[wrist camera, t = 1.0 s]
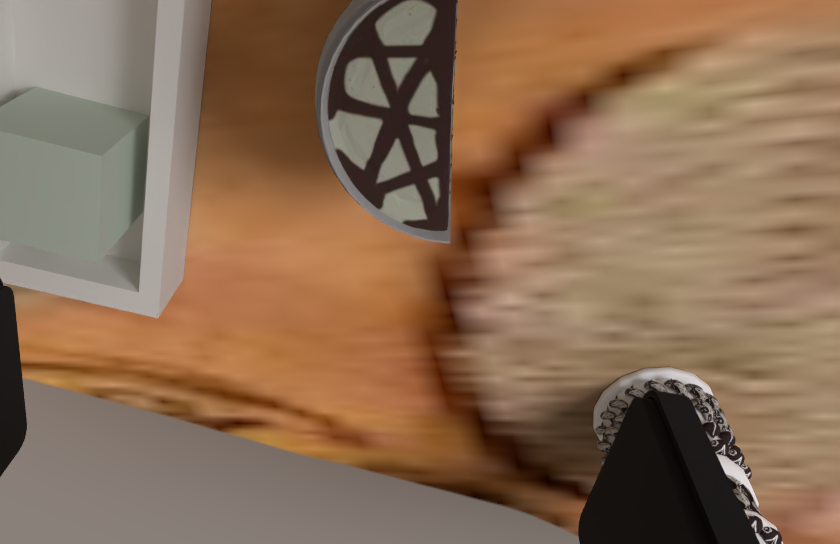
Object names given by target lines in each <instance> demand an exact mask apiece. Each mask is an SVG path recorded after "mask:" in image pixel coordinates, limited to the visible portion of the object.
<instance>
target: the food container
mask: <svg viewBox="0 0 840 544" xmlns="http://www.w3.org/2000/svg"><path fill="white" fill-rule="evenodd" d="M457 2H458V1H457V0H352V2H351V3H350V4H349V5H348V7H347V8H346V9H345V10H344V12H343V13H342V14H341V16H340V17H339V18H338V20H337V21H336V23H335V25H334V27H333V29H332V30H331V32H330V34H329V36H328V38H327V40H326V42H325V45H324V48H323V51H322V54H321V56H320V59H319V64H318V69H317V75H316V80H315V109H316V116H317V123H318V130H319V136H320V139H321V143H322V146H323V149H324V152H325V155H326V157H327V159H328V161H329V164H330V166H331V168H332V170H333V172H334V174H335V175H336V177H337V178H338V179H339V181H340V182H341V184H342V185H343V187H344V188H345V190H346V191H347V192H348V193H349V194H350V195H351V196H352V197H353V198H354V199H355V200H356V201H357V202H358V204H359V205H361V206H362V207H363V208H364V209H365V210H366V211H368V212H369V213H370V214H372V215H373V216H374V217H375V218H377V219H378V220H380V221H381V222H383V223H385V224H386V225H388V226H390V227H392V228H393V229H395V230H398V231H400V232H403V233H405V234H408V235H410V236H413V237H416V238H420V239H424V240H428V241H433V242H442V243H450V218H451V166H452V164H451V163H452V137H453V135H452V130H453V129H452V127H453V104H454V75H455V59H456V56H455V54H456V52H457V51H455V49H456V25H457Z"/></svg>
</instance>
